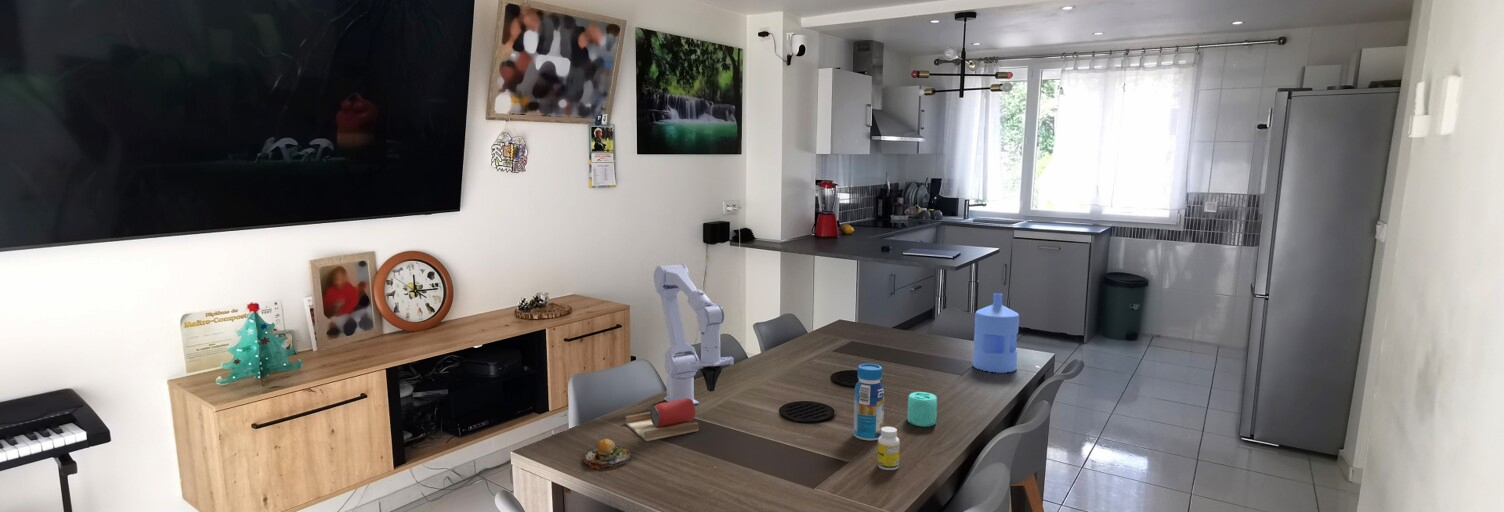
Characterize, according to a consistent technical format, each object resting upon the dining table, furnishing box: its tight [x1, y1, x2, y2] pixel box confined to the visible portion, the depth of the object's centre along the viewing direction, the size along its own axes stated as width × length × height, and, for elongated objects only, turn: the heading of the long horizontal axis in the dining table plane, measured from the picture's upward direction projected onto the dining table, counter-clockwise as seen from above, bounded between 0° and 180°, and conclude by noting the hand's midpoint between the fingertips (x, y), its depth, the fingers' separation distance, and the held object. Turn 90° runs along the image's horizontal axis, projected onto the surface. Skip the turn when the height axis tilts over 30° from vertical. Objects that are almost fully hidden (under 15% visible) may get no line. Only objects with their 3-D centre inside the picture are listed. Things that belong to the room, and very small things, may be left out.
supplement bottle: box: [876, 426, 901, 471], centre depth 189 cm, size 5×5×10 cm
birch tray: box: [624, 411, 700, 442], centre depth 217 cm, size 16×16×2 cm
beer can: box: [649, 398, 697, 426], centre depth 218 cm, size 7×7×12 cm
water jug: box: [972, 292, 1020, 374], centre depth 278 cm, size 16×16×28 cm
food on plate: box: [584, 437, 633, 470], centre depth 193 cm, size 12×12×8 cm
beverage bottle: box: [853, 363, 885, 442], centre depth 209 cm, size 8×8×20 cm
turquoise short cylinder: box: [907, 391, 938, 428], centre depth 221 cm, size 8×8×8 cm
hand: (710, 390), depth 224 cm, fingers closed
